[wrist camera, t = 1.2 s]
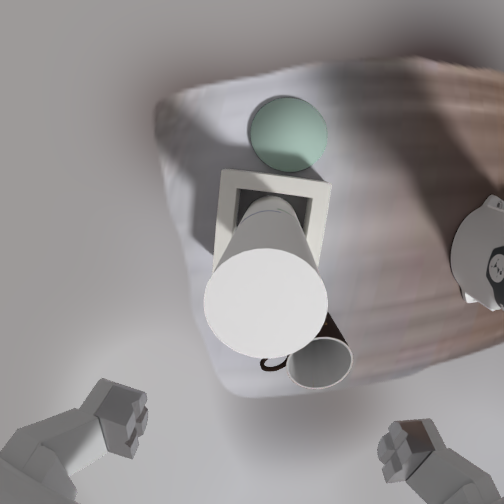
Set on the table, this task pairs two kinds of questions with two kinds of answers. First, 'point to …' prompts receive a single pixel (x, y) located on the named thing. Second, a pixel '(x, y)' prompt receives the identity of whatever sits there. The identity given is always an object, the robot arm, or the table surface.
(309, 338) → the cylindrical container
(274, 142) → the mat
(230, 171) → the holder
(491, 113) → the table surface
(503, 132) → the table surface
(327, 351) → the coffee mug
